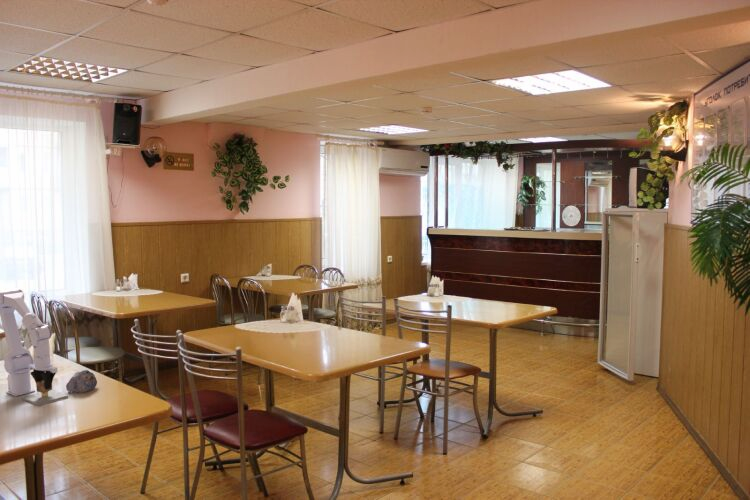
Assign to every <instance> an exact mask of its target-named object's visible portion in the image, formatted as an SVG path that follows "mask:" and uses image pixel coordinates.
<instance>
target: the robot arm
mask: <svg viewBox="0 0 750 500" xmlns="http://www.w3.org/2000/svg"><path fill="white" fill-rule="evenodd" d="M15 311H16V312H17V313H18V314H19V316H21V318H22V319H21V322H22V324H23V325H24V327H25V328H26V330H27V331H28V332H29V334H28V335H29V337H28V338H29V339H30V341H31V346H33V356H32V353H31V351H30V350H29V349H27V348H25V347H23V343H22V340H21V335H20V331H19V327H18V324H17V320H16V316H15V313H14V312H15ZM0 320H1V324H2V328H3V331H4V336H5V339H6V344H7V347H8V351H7V352H6V353H5V355H4V356H3V362H4V365H3V366H4V369H5V371H6V373H8V374H7V388H8V389H7V390H6V392H5V393H7V394H9V395H11V396H14V397H18V396H22V395H26V394H30V393H34V392H35V391H36V390H35V389H34V388H33V389H32V385H31V376H32V378H33V380H34V382H35V383H36V382H38V381H41V380H44V385H45V389H46V390H47V389H50V388H51V386H52V387H53V382H54V381H53V380H54V378H55V375H56V374H57V373H58V371H59V370H58V367H57V366H54V364H53V363H51V350H50V339H51V338H52V329H51V327H50V326H49V324H45V323H43V322H42V320H41V319H40V318H39V317H38V315H37V314H36V313H34V312H31V310H30V308H29V307H28V305H27V303H26V302H25V294H24V291H23V289H21V288H20V287H17V288H16V287H15V288H11V289H5V290H0Z"/></svg>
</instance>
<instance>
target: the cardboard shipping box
mask: <svg viewBox="0 0 750 500" xmlns="http://www.w3.org/2000/svg"><path fill="white" fill-rule="evenodd" d="M35 384H36V386H35V387H36V393H40V392H42V393H44V392H47V391H50V390H53V385H52V386H51V388H50V389H47V390H46V389H45V385H44V380H41V381H38V382H35Z"/></svg>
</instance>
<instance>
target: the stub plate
mask: <svg viewBox="0 0 750 500" xmlns="http://www.w3.org/2000/svg"><path fill="white" fill-rule="evenodd" d="M65 399H69V395H68V394H66V393H63V392H60V391H57V390H55V389H52V390H50V391H47V392H44V393H42V392H36V393H32V394H29V395H25V396H22V397H21V400H22V401H25V402H27V403H30V404H32V405H34V406H38V407H40V406H43V405H46V404H51V403H54V402H58V401H61V400H65Z"/></svg>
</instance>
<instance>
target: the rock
mask: <svg viewBox="0 0 750 500" xmlns="http://www.w3.org/2000/svg"><path fill="white" fill-rule="evenodd" d="M95 375H96V374H94V373H93V372H91V371H90V370H88V369H84V370H81V371H76V372H75V373H74V374H73V376H71V377H70V379H69V380H68V382H67V383H66V385H65V388H66V391H67V392H70V393H71V394H75V393H85V392H90V391H93V390H94V389H95V388H96V386H97V384H98V379H97V378H96V376H95Z"/></svg>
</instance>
